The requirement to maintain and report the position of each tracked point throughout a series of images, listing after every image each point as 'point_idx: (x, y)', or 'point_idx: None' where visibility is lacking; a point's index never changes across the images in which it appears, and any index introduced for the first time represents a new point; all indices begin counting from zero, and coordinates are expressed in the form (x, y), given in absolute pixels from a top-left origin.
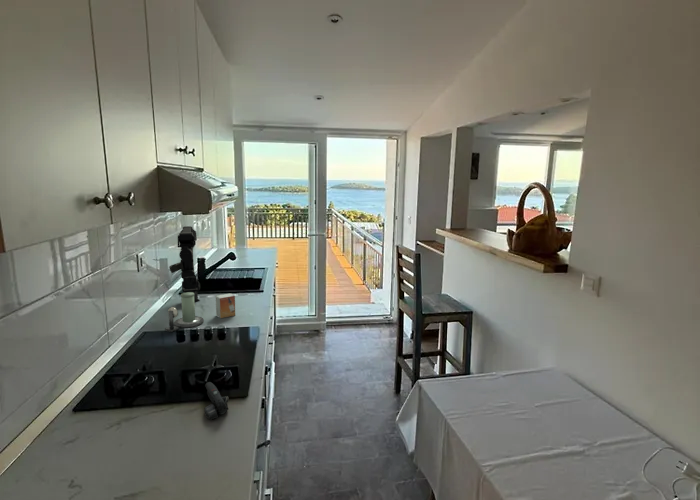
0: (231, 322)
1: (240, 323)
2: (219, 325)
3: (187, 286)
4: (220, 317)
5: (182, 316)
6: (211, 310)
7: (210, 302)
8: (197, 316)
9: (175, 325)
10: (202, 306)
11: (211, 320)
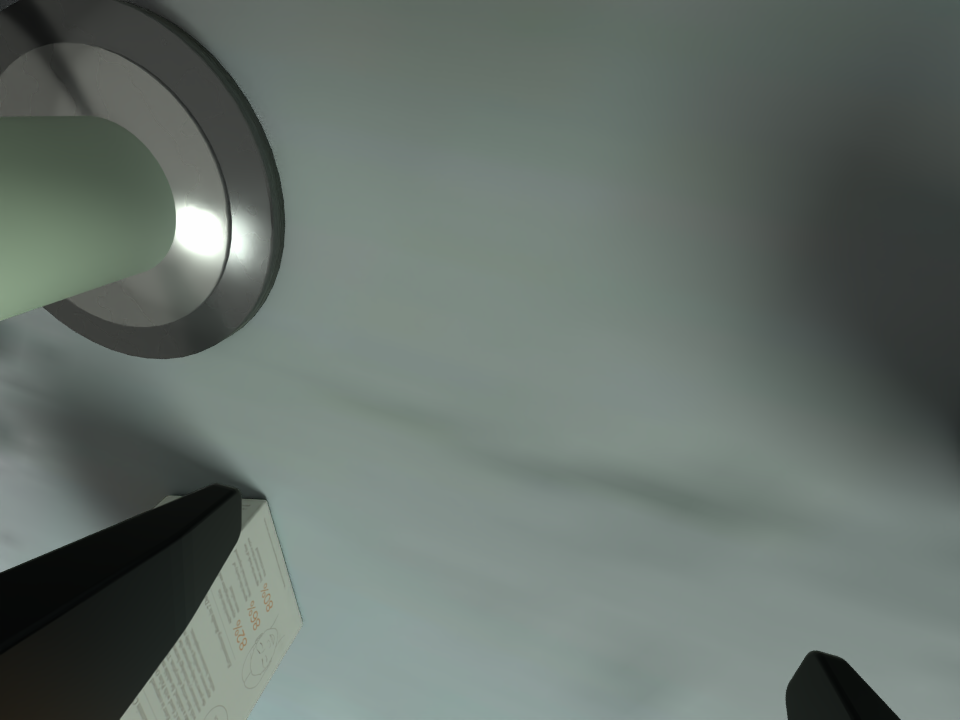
0: (55, 521)
1: (21, 559)
2: (4, 422)
3: (112, 543)
4: (161, 501)
5: (28, 116)
6: (458, 523)
7: (787, 628)
8: (233, 325)
9: (35, 2)
10: (681, 504)
11: (145, 413)
